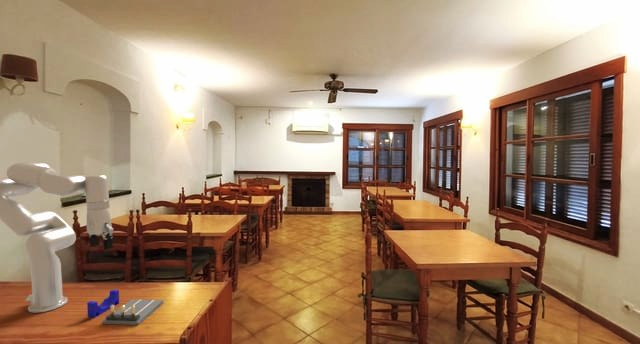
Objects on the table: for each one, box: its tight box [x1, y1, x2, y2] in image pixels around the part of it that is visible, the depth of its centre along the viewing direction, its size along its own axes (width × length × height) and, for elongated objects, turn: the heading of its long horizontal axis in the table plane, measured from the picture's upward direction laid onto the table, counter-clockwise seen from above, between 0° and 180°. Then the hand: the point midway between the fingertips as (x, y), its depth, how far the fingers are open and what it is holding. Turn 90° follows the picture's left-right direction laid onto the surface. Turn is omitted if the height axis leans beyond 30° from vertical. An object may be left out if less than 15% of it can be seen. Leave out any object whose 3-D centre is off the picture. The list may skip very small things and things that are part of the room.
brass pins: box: [105, 304, 140, 321], centre depth 121 cm, size 12×2×5 cm, turn 87°
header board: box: [102, 299, 164, 326], centre depth 128 cm, size 14×17×1 cm
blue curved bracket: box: [86, 289, 120, 319], centre depth 130 cm, size 12×4×6 cm, turn 169°
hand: (101, 247), depth 129 cm, fingers open, 9 cm apart
